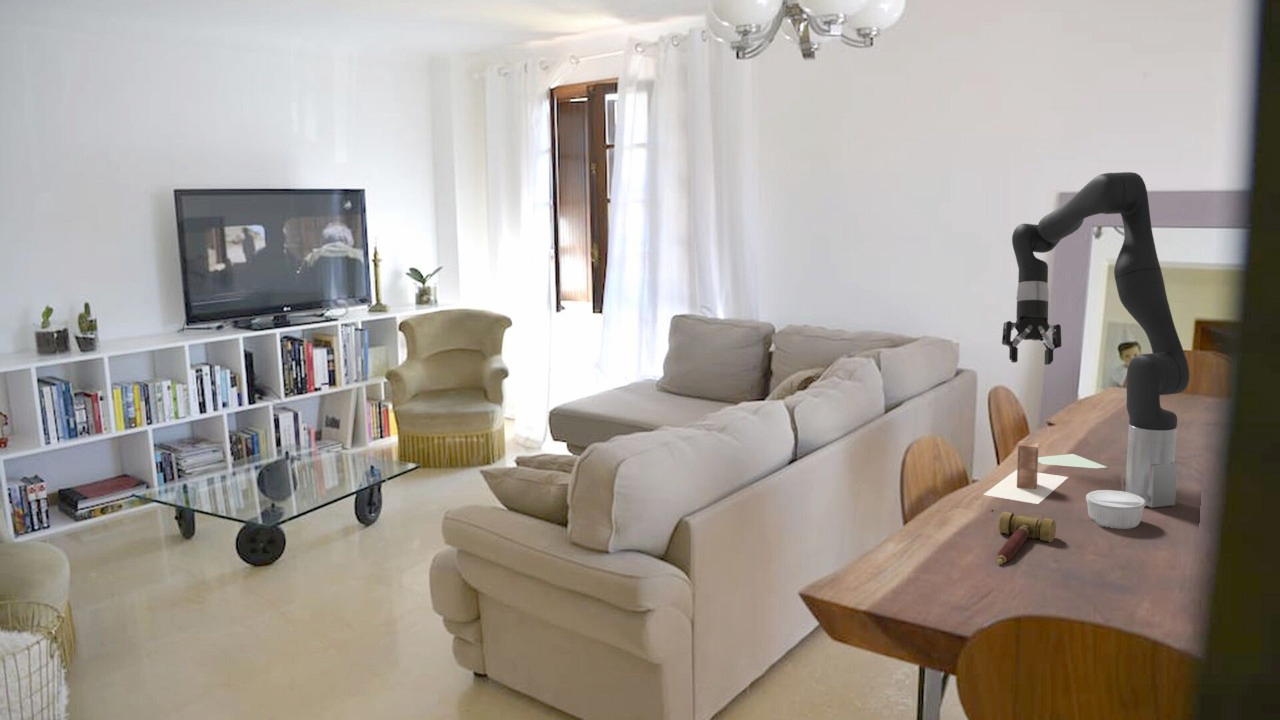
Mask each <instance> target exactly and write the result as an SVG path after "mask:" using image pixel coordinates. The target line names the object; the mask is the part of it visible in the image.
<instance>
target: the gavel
mask: <svg viewBox="0 0 1280 720" xmlns="http://www.w3.org/2000/svg"><path fill="white" fill-rule="evenodd" d="M998 530H999V533H1000V534H1002V533H1007V534H1006V535H1008V534H1010V533H1011V534H1010V537H1009V538H1008V540H1007V541H1006V542H1005V543H1004V544H1003V546H1002V548H1000V550H999V551H998V552H997V562H996V563H997V564H998V565H1004V564H1006V563H1009V562H1011V560H1012V559H1013V558H1014V556H1015V555H1016V554H1017V552H1018V551H1019V549H1020V548H1021V547H1022V546H1023V545H1024V543H1025V541H1027V539H1028V538H1031V537H1032V539H1040V541H1041V540H1043V542H1046V541H1050V542H1049V543H1052V542H1053V541H1054V540H1053V538H1054V537H1055V536H1056V533H1057V522H1056V521H1055V519H1051V518H1043V519H1040V518H1037V517H1035V518H1034V517H1029V516H1024V515H1015V514H1014V512H1009V511H1002V512H1001V514H1000V516H999V519H998ZM1054 539H1055V538H1054ZM1052 540H1053V541H1052ZM1051 541H1052V542H1051ZM1008 561H1009V562H1008ZM1005 562H1006V563H1005ZM1003 563H1004V564H1003Z"/></svg>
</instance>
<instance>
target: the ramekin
mask: <svg viewBox="0 0 1280 720" xmlns="http://www.w3.org/2000/svg"><path fill="white" fill-rule="evenodd" d="M1085 501H1086V503H1087V512H1088V513H1087V514H1088V516H1089V517H1090V518H1091V520H1090V521H1091V522H1092V521H1093V524H1095V523H1096V525H1098V526H1100V525H1101V527H1104V526H1105V527H1106V528H1108V527H1110V529H1115V528H1116V529H1117V530H1118V529H1119V530H1127V529H1133V528H1136V527H1138V525H1140V523H1141V521H1142V517H1143V513H1144V508H1145V507H1146V506H1145V500H1144V499H1143V498H1142V497H1140V496H1138V495H1135V494H1132V493H1128V492H1125V491H1123V490H1122V491H1121V490H1111V489H1099V490H1093V491H1090V492H1088V493H1087V494H1086V495H1085ZM1105 527H1104V528H1105Z"/></svg>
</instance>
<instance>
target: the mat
mask: <svg viewBox="0 0 1280 720" xmlns="http://www.w3.org/2000/svg"><path fill="white" fill-rule="evenodd" d="M1038 463H1039V464H1038V465H1048V466H1049V465H1050V466H1064V467H1073V468H1075V467H1076V468H1087V469H1088V468H1089V469H1100V470H1106V469H1107V468H1109V467H1108V466H1106V465H1103V464H1101V463H1098V462H1095V461H1093V460H1091V459H1087V458H1085V457H1082V456H1080V455H1077V454H1074V453H1068V454H1067V453H1066V454H1059V455H1047V456H1046V455H1045V456H1040V457H1039V456H1038ZM1107 470H1108V469H1107Z"/></svg>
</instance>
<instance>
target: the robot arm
mask: <svg viewBox="0 0 1280 720" xmlns="http://www.w3.org/2000/svg"><path fill="white" fill-rule="evenodd" d="M1147 190H1148V189H1147V186H1146V184H1145V181H1144V179H1143V178H1142V176H1141V175H1140V174H1138V173H1136V172H1132V171H1131V172H1129V171H1126V172H1125V171H1124V172H1106V173H1102V174H1099V175H1097V176H1095V177H1093V178H1092V179H1091V180H1090V181H1089V182H1088V183H1087V184H1086V185H1084V186H1083V188H1081V189H1080V191H1078V192H1077V193H1076V194H1075V195H1073V197H1071V198H1070V199H1069V200H1068V201H1067V202H1066V203H1065V204H1063V205H1061V206H1060V207H1057V208H1056V209H1055V210H1053V211H1051V212H1049V213H1048V214H1046V215H1045V216H1043V217H1042V218H1041V219H1040V220H1039V221H1038V224H1034V223H1033V224H1032V223H1021V224H1019V225H1017V226H1016V228H1014V231H1013V233H1012V236H1011V244H1012V247H1013V251H1014V255H1015V259H1016V264H1017V267H1018V268H1017V269H1018V278H1017V279H1018V284H1017V285H1018V286H1017V291H1016V318H1015V319H1016V321H1015V322H1013V321H1011V320H1009V321H1008V320H1007V321H1005V322H1004V323H1003V327H1002V328H1003V329H1002V338H1001V344H1002V345H1003V346H1007V347H1008V349H1009V351H1008V352H1009V355H1008V356H1009V360H1010V361H1011V363H1012V364H1013V363H1015V364H1016V363H1018V357H1019V356H1018V354H1019V353H1018V352H1019V351H1018V349H1019V348H1018V347H1017V346H1019V345H1020V343H1021V342H1022V341H1023V340H1025V341H1030V340H1031V341H1034V342H1035V341H1036V342H1037V341H1038V342H1039V343H1040V344H1042V346H1043V347H1044V348H1045V349H1044V365H1046V366H1049V365H1052V363H1053V361H1054V350H1055V349H1058V348H1061V347H1062V327H1061V324H1059V323H1058V324H1050V323H1049V297H1050V296H1049V283H1048V282H1049V277H1048V276H1049V266H1048V265H1049V264H1048V263H1047V262H1046V261H1045V260H1042V259H1040V258H1038V257H1036V255H1035V254H1034V253H1039V254H1042V253H1043V254H1044V253H1049V252H1050V251H1052V250H1053V249H1055V247H1056V246H1057V245H1058V244H1059V243H1060V242H1061V240H1063V239H1064V238H1067V237H1068V236H1070V235H1072V234H1074V233H1075V232H1076V231H1077V230H1079V229H1080V227H1082V225H1083V223H1084V220H1085V219H1086V218H1088V217H1092V216H1096V215H1099V214H1100V215H1101V214H1103V215H1115V214H1120V216H1121V218H1122V223H1123V229H1124V238H1123V243H1122V246H1121V248H1120V251H1119V254H1118V256H1117V258H1116V261H1115V265H1114V270H1113V275H1114V281H1115V285H1116V290H1117V293H1118V298H1119V301H1120V303H1121V305H1123V308H1125V310H1126V311H1127V312H1128V313H1129V315H1130V316H1131V317H1132V318H1133V319H1134V320H1135V321H1136V323H1137V324H1139V326H1140V327H1141V329H1142V330H1143V331H1144V332H1145V334H1146V337H1147V339H1148V342H1149V345H1150V349H1151V350H1152V351H1151V353H1141V354H1137V355H1136V356H1134V357H1133V358H1132V359H1131V360H1130V362H1128V367H1127V370H1126V410H1127V414H1128V419H1129V420H1128V423H1129V424H1128V436H1127V437H1128V438H1127V439H1128V440H1127V452H1126V454H1127V455H1126V470H1125V489H1124V492H1128V493H1132V494H1135V495H1138V496H1140V497H1142V498H1143V499H1144V500H1145V507H1149V508H1160V507H1162V508H1163V507H1169V506H1176V498H1177V497H1176V495H1177V484H1178V472H1179V471H1178V469H1179V464H1178V462H1175V459H1176V458H1175V457H1176V456H1175V455H1176V444H1177V428H1178V416H1177V414H1176V413H1175V412H1172V411H1171V410H1167V409H1163V408H1162V407H1161V400H1160V399H1161V396H1167V395H1175V394H1180V393H1182V392H1184V391H1185V390H1186V389H1187V387H1188V385H1189V382H1190V369H1189V364H1188V360H1187V357H1186V355H1185V351H1184V349H1183V346H1182V343H1181V340H1180V338H1179V335H1178V332H1177V328H1176V327H1175V323H1174V319H1173V315H1172V312H1171V309H1170V304H1169V299H1168V296H1167V291H1166V286H1165V282H1164V281H1165V280H1164V277H1163V273H1162V272H1163V271H1162V267H1161V266H1160V265H1161V264H1160V261H1159V257H1158V254H1157V249H1156V245H1155V238H1154V235H1153V230H1152V229H1153V227H1152V221H1151V213H1150V203H1149V197H1148V191H1147ZM1014 328H1015V330H1016V331H1017V334H1016V335H1015V336H1014V337H1013V339H1012V331H1013V330H1014ZM1048 331H1049V332H1050V333H1051V337H1049V335H1048V334H1047V332H1048ZM1051 338H1052V340H1051ZM1011 339H1012V340H1011Z"/></svg>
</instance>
